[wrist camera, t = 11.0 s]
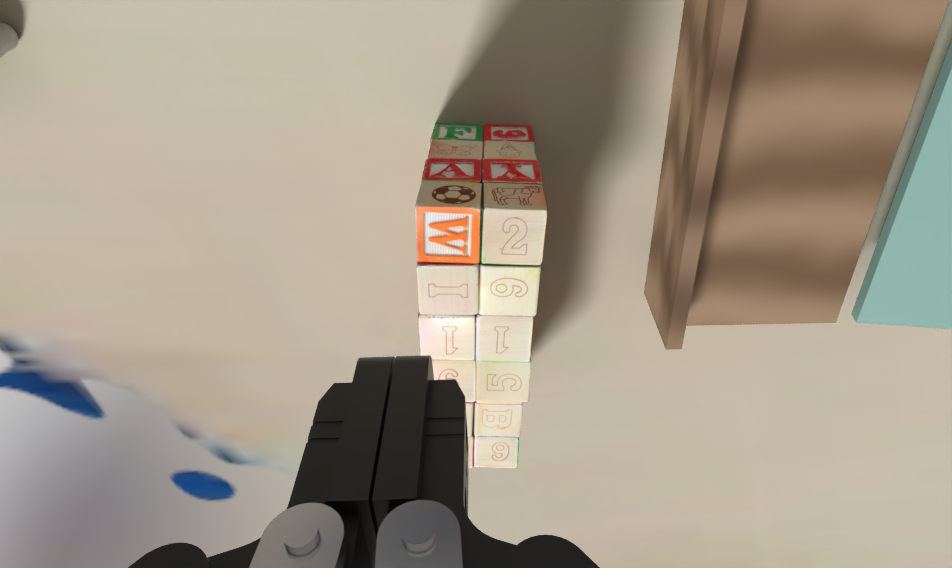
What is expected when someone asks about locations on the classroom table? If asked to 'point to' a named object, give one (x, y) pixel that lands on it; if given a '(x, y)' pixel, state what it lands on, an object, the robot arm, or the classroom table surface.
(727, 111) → the cart bed
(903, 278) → the tailgate
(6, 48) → the gray elephant figurine
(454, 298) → the stack of blocks
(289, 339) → the classroom table surface
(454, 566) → the robot arm
